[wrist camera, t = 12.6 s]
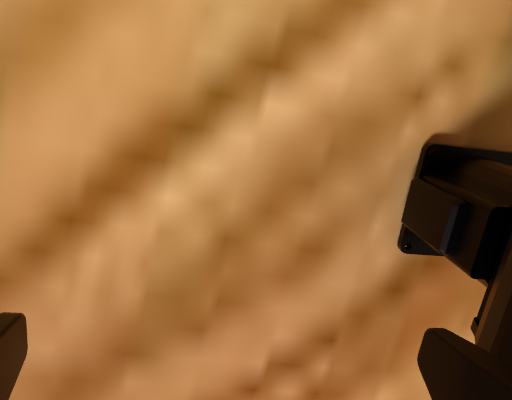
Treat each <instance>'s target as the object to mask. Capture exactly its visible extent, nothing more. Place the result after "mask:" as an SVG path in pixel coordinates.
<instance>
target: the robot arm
mask: <svg viewBox="0 0 512 400" xmlns="http://www.w3.org/2000/svg"><path fill="white" fill-rule="evenodd" d="M432 149H434V153H433V155H432V156H429V152H430V151H431V150H432ZM402 223H403V224H402V227H401V231H400V235H399V239H398V244H397V246H398V248H399V249H400V250H401V251H402V252H403V253H406V254H418V255H433V256H445V257H446V258H447V259H449V260H450V261H451V262H452V263H454V264H455V265H456V266H457V267H459V268H460V269H461V270H462V271H464V272H465V273H466V274H467V275H469V276H470V277H471V278H473V279H477V280H478V281H479V282H481V283H482V284H483V285H485V286H486V287H487V289H486V292H485V295H484V298H483V301H482V304H481V307H480V309H479V312H478V315H477V317H475V318H474V319H473V322H472V325H471V330H472V332H473V334H474V336H475V344H473V343H471V342H469V341H467V340H465V339H464V338H462V337H460V336H458V335H456V334H454V333H452V332H451V331H449V330H447V329H444V328H429V329H427V330H426V331H425V333H424V336H423V340H422V343H421V346H420V350H419V353H418V358H417V361H418V366H419V369H420V372H421V374H422V377H423V379H424V381H425V384H426V386H427V389H428V391H429V394H430V396H431V399H432V400H512V152H508V151H500V150H491V149H482V148H474V147H465V146H456V145H448V144H439V143H428V144H426V145H425V146H424V147H423V148H422V151H421V154H420V158H419V162H418V166H417V170H416V174H415V177H414V179H413V180H412V181H411V185H410V189H409V193H408V197H407V201H406V204H405V208H404V212H403V216H402ZM407 242H410V243H409V245H408V246H407V247H405V244H406V243H407ZM27 349H28V344H27V326H26V318H25V315H24V314H22V313H9V312H3V313H0V400H9V397H10V395H11V392H12V390H13V388H14V385H15V383H16V380H17V378H18V375H19V373H20V370H21V368H22V366H23V363H24V361H25V358H26V355H27Z"/></svg>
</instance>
